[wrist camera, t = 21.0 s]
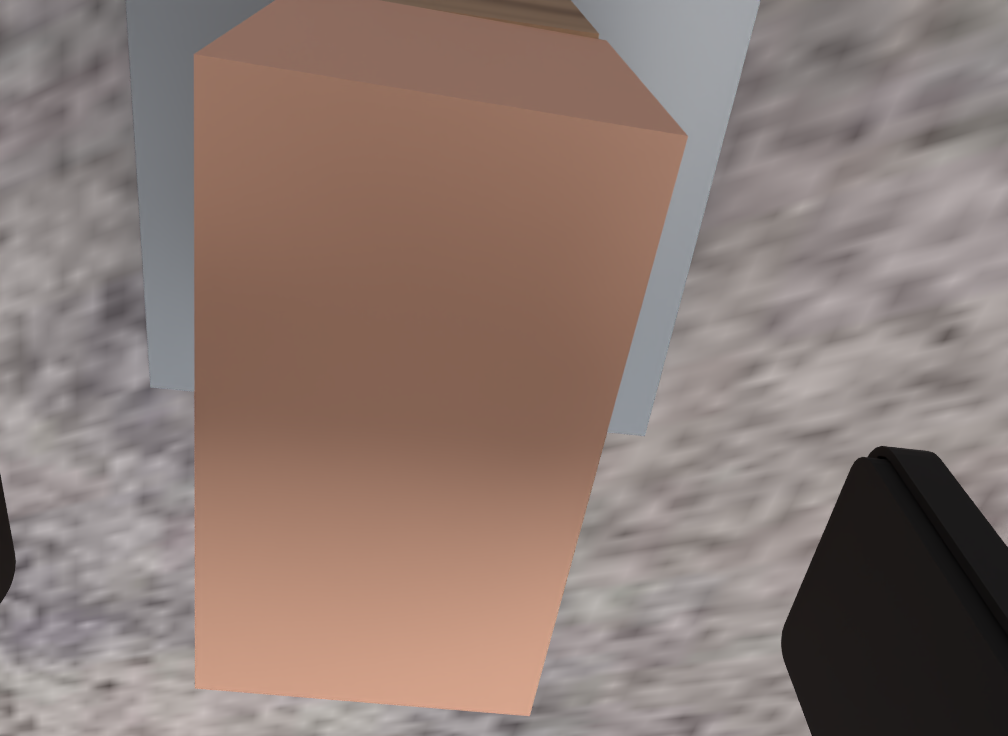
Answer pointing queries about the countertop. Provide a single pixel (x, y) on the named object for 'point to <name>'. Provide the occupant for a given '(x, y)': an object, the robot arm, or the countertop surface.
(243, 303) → the terracotta brick
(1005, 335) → the countertop surface
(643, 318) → the baseplate
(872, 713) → the robot arm
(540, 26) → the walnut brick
